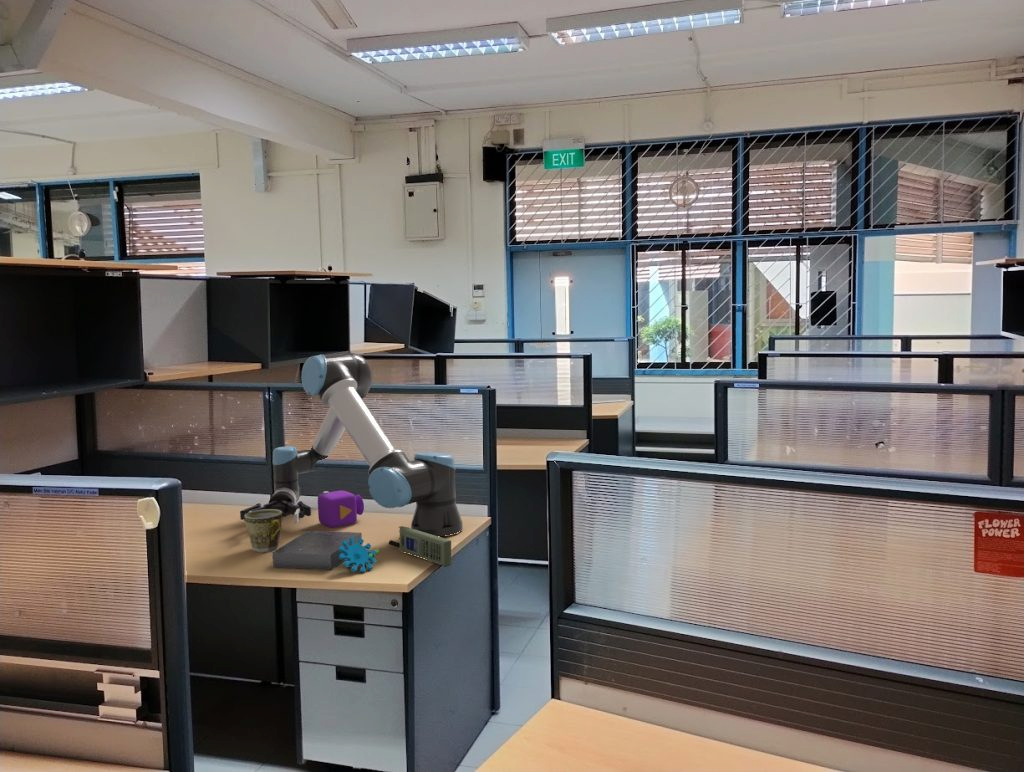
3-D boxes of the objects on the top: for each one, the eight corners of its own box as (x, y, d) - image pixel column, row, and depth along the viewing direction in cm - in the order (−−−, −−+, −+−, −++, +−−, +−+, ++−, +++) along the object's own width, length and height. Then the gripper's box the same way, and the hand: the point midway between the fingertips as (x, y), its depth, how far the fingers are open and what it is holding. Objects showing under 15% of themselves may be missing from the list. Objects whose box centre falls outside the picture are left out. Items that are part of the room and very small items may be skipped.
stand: (362, 546, 221) (361, 532, 221) (331, 570, 202) (330, 554, 202) (308, 544, 225) (307, 530, 224) (273, 567, 205) (272, 552, 205)
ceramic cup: (239, 550, 221) (237, 514, 220) (270, 541, 229) (268, 507, 228) (266, 558, 213) (264, 521, 212) (297, 549, 220) (296, 513, 219)
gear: (346, 571, 196) (335, 537, 201) (337, 584, 199) (326, 549, 204) (386, 567, 203) (374, 534, 208) (376, 580, 206) (365, 546, 211)
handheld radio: (443, 568, 202) (385, 548, 220) (453, 565, 204) (394, 546, 222) (443, 542, 202) (385, 524, 219) (453, 539, 204) (394, 522, 222)
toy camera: (371, 520, 249) (369, 489, 248) (334, 530, 238) (333, 497, 237) (349, 515, 256) (348, 484, 255) (313, 524, 246) (311, 492, 245)
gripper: (323, 512, 252) (316, 530, 231) (241, 516, 249) (227, 535, 228) (322, 488, 251) (315, 504, 230) (240, 492, 248) (225, 509, 227)
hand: (271, 520), depth 229 cm, fingers open, 13 cm apart
